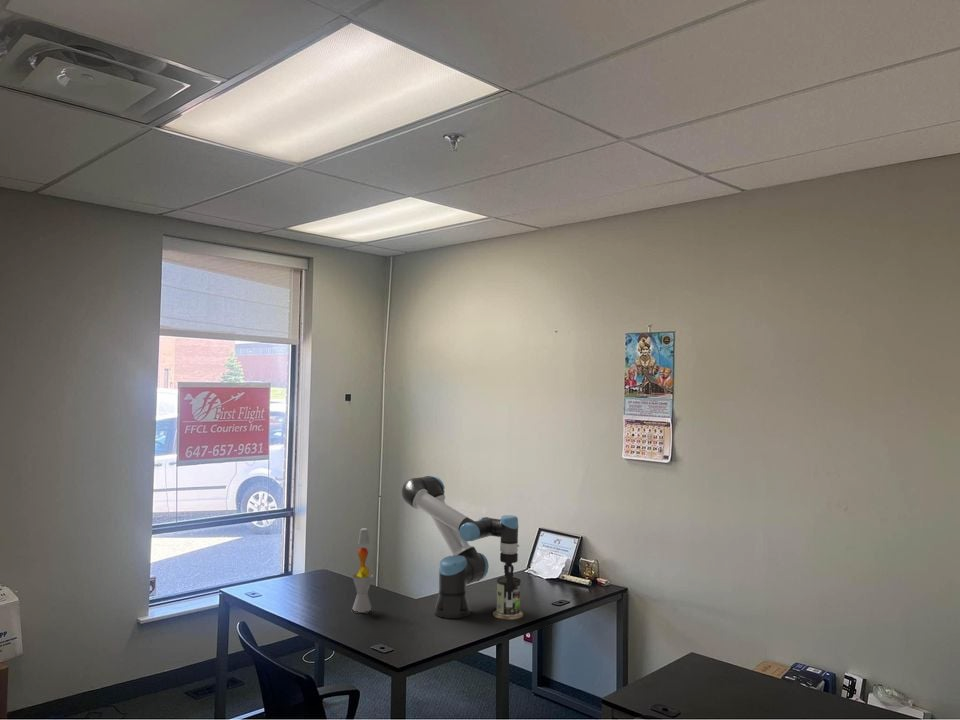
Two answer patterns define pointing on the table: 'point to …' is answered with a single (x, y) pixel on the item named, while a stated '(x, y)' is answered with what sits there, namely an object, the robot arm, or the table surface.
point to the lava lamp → (362, 576)
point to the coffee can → (501, 598)
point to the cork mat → (508, 617)
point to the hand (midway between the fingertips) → (508, 602)
